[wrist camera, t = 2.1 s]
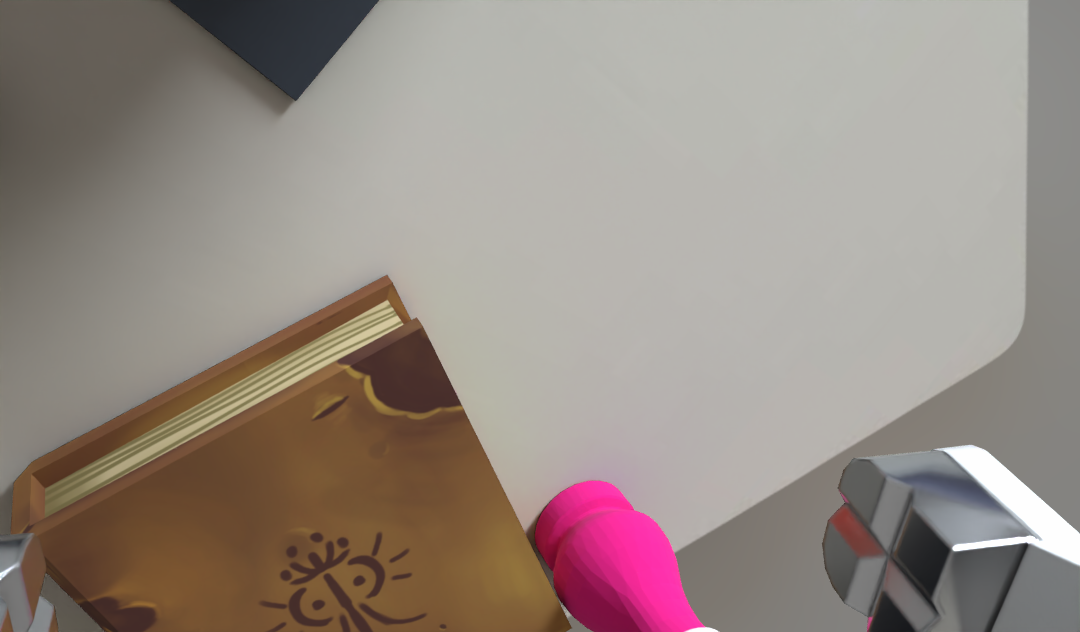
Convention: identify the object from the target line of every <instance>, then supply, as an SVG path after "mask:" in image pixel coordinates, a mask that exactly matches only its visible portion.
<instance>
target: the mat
mask: <svg viewBox="0 0 1080 632" xmlns="http://www.w3.org/2000/svg"><path fill="white" fill-rule="evenodd" d="M170 1H171V2H172V3H174V4H175V5H176V6H177V7H179V8H180V9H181V10H182V11H184V12H185V13H186V14H187V15H189V16H190V17H191V18H192V19H194V20H195V21H196V22H197V23H199V24H200V25H201V26H202V27H204V28H205V29H206V30H207V31H209V32H210V33H211V34H212V35H214V36H215V37H216V38H217V39H219V40H220V41H221V42H222V43H224V44H225V45H226V46H228V47H229V48H230V49H231V50H233V51H234V52H235V53H236V54H238V55H239V56H240V57H241V58H243V59H244V60H245V61H246V62H248V63H249V64H250V65H251V66H253V67H254V68H255V69H256V70H258V71H259V72H260V73H261V74H263V75H264V76H265V77H266V78H268V79H269V80H270V81H271V82H273V83H274V84H275V85H276V86H278V87H279V88H280V89H282V90H283V91H284V92H285V93H287V94H288V95H289V96H290V97H292V98H293V99H294V100H295V101H296V100H297V99H298V98H299V97H300V96H301V94H302V93H303V92H304V91H305V89H306V88H307V87H308V86H309V85H310V83H311V82H312V81H313V80H314V79H315V77H316V76H317V75H318V74H319V72H320V71H321V70H322V69H323V68H324V66H325V65H326V64H327V63H328V62H329V60H330V59H331V58H332V57H333V55H334V54H335V53H336V52H337V51H338V49H339V48H340V47H341V46H342V44H343V43H344V42H345V41H346V40H347V38H348V37H349V36H350V35H351V34H352V32H353V31H354V30H355V29H356V27H357V26H358V25H359V24H360V23H361V21H362V20H363V19H364V18H365V17H366V15H367V14H368V13H369V12H370V10H371V9H372V8H373V7H374V6H375V4H376V3H377V2H378V1H379V0H170Z"/></svg>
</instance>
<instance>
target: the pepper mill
mask: <svg viewBox="0 0 1080 632" xmlns="http://www.w3.org/2000/svg"><path fill="white" fill-rule="evenodd" d="M535 543H536V546H537V549H538V551H539V552H540V554H541V556H542V557H543V559H544V560H545V562H546V563H547V565H548V566H549V568H550V569H551V570H552V571H553V572H554V588H555V590H556V593H557V595H558V597H559V599H560V601H561V602H562V603H563V605H564V606H565V607H566V609H567V610H568V611H569V612H570V614H571V615H572V616H573V617H574V618H575V619H577V620H578V621H579V622H580V623H582V624H583V625H584V626H585V627H586V628H588V629H590V630H592V631H594V632H718V631H717V630H714V629H712V628H706V627H705V626H704V625H703V624H702V623H701V622H700V621H699V620H698V618H697V617H696V615H695V614H694V612H693V610H692V609H691V607H690V606H689V603H688V601H687V599H686V596H685V594H684V592H683V589H682V585H681V580H680V575H679V570H678V565H677V560H676V557H675V554H674V552H673V549H672V547H671V545H670V542H669V540H668V538H667V537H666V535H665V534H664V533H663V531H662V530H661V528H660V527H659V525H658V524H657V523H656V522H655V521H654V520H653V519H651V518H650V517H649V516H647V515H645V514H643V513H640V512H638V511H634V509H633V507H632V506H631V504H630V503H629V502H628V501H627V499H626V498H625V497H624V496H623V494H622V493H621V492H620V491H619V490H618V489H617V488H616V487H615V486H614V485H612V484H610V483H607V482H602V481H587V482H583V483H579V484H575V485H573V486H571V487H570V488H568V489H566V490H564V491H562V492H561V493H560V494H558V495H557V496H556V497H555V498H554V499H553V500H551V501H550V503H549V504H548V505H547V506H546V508H545V509H544V510H543V512H542V514H541V516H540V518H539V520H538V522H537V525H536V531H535Z"/></svg>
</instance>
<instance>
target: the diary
mask: <svg viewBox="0 0 1080 632" xmlns="http://www.w3.org/2000/svg"><path fill="white" fill-rule="evenodd" d="M24 533H34V534H35V535H36V536H37V537H38V538H40V541H41V545H42V549H43V554H44V558H45V562H46V566H47V569H46V573H47V574H48V575H49V576H50V577H51V578H52V579H53V580H54V581H55V582H56V583H57V584H58V585H59V586H60V587H61V588H62V589H63V590H64V591H65V592H66V593H67V594H68V595H69V596H70V597H71V598H72V599H73V600H74V601H75V602H76V603H77V604H78V605H79V606H80V607H81V608H82V609H83V610H84V611H85V612H86V613H87V614H88V615H89V616H90V617H91V618H92V619H93V620H94V621H95V622H96V623H97V624H98V625H99V626H100V627H101V628H102V629H103V630H104V631H105V632H566V631H568V630H569V629H571V625H570V623H569V621H568V619H567V617H566V615H565V613H564V611H563V609H562V607H561V605H560V603H559V601H558V599H557V597H556V595H555V593H554V591H553V589H552V587H551V585H550V583H549V581H548V579H547V577H546V575H545V573H544V571H543V569H542V567H541V565H540V563H539V561H538V559H537V557H536V555H535V553H534V551H533V549H532V546H531V544H530V542H529V540H528V538H527V536H526V534H525V532H524V530H523V528H522V526H521V524H520V522H519V520H518V518H517V516H516V514H515V512H514V510H513V508H512V506H511V504H510V502H509V500H508V498H507V496H506V494H505V492H504V490H503V488H502V486H501V484H500V482H499V480H498V478H497V476H496V474H495V472H494V470H493V468H492V466H491V464H490V461H489V459H488V457H487V455H486V453H485V451H484V449H483V447H482V445H481V443H480V441H479V439H478V437H477V435H476V433H475V431H474V429H473V427H472V425H471V423H470V421H469V419H468V417H467V415H466V413H465V411H464V409H463V407H462V405H461V403H460V401H459V399H458V397H457V395H456V393H455V391H454V389H453V387H452V385H451V383H450V381H449V378H448V376H447V374H446V372H445V370H444V368H443V366H442V364H441V362H440V360H439V358H438V356H437V354H436V352H435V350H434V348H433V346H432V344H431V342H430V340H429V338H428V336H427V334H426V332H425V330H424V328H423V326H422V325H421V323H420V322H419V320H418V319H417V318H415V319H413V320H411V319H410V317H409V315H408V313H407V311H406V309H405V307H404V305H403V303H402V301H401V299H400V297H399V295H398V293H397V291H396V289H395V287H394V285H393V283H392V281H391V280H390V279H389V277H388V276H387V275H386V276H384V277H382V278H380V279H378V280H377V281H375V282H373V283H371V284H369V285H367V286H365V287H363V288H361V289H359V290H358V291H356V292H354V293H352V294H350V295H348V296H346V297H344V298H342V299H340V300H339V301H337V302H335V303H333V304H331V305H329V306H327V307H325V308H323V309H321V310H320V311H318V312H316V313H314V314H312V315H310V316H308V317H306V318H304V319H302V320H301V321H299V322H297V323H295V324H293V325H291V326H289V327H287V328H285V329H283V330H282V331H280V332H278V333H276V334H274V335H272V336H270V337H268V338H266V339H265V340H263V341H261V342H259V343H257V344H255V345H253V346H251V347H249V348H247V349H246V350H244V351H242V352H240V353H238V354H236V355H234V356H232V357H230V358H228V359H227V360H225V361H223V362H221V363H219V364H217V365H215V366H213V367H211V368H209V369H208V370H206V371H204V372H202V373H200V374H198V375H196V376H194V377H192V378H190V379H189V380H187V381H185V382H183V383H181V384H179V385H177V386H175V387H173V388H171V389H170V390H168V391H166V392H164V393H162V394H160V395H158V396H156V397H154V398H152V399H151V400H149V401H147V402H145V403H143V404H141V405H139V406H137V407H135V408H133V409H132V410H130V411H128V412H126V413H124V414H122V415H120V416H118V417H116V418H115V419H113V420H111V421H109V422H107V423H105V424H103V425H101V426H99V427H97V428H96V429H94V430H92V431H90V432H88V433H86V434H84V435H82V436H80V437H78V438H77V439H75V440H73V441H71V442H69V443H67V444H65V445H63V446H61V447H59V448H58V449H56V450H54V451H52V452H50V453H48V454H46V455H44V456H42V457H40V458H39V459H37V460H35V461H33V462H31V464H30V465H29V466H28V467H27V468H26V469H25V471H24V472H23V473H22V474H21V475H20V476H19V477H18V479H17V480H16V481H15V482H14V487H13V504H12V520H11V534H24Z"/></svg>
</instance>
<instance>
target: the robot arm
mask: <svg viewBox="0 0 1080 632" xmlns="http://www.w3.org/2000/svg"><path fill="white" fill-rule="evenodd" d="M838 489H839V491H840V494H841V496H842V497H843V500H844V502H845V503H844V504H843V505H842V506H841V507H840V508H839V509H838V510H837V511H836V512H835V513H834V515H832V516H831V518H830V519H829V520H828V523H827V527H826V531H825V534H824V539H823V543H822V547H823V555H824V564H825V569H826V572H827V574H828V577H829V579H830V582H831V584H832V586H833V588H834V589H835V591H836V592H837V594H838V595H839V596H840V598H841V599H842V601H843V602H844V604H846V605H848V606H850V607H851V608H853V609H855V610H857V611H858V612H860V613H862V614H864V615H865V616H867V617H868V626H867V632H1080V534H1079V533H1078V532H1077V531H1076V530H1075V529H1074V528H1073V527H1072V526H1070V525H1069V524H1068V523H1067V522H1066V521H1065V520H1064V519H1063V518H1061V517H1060V516H1059V515H1058V514H1057V513H1056V512H1055V511H1054V510H1052V509H1051V508H1050V507H1049V506H1048V505H1047V504H1046V503H1045V502H1043V501H1042V500H1041V499H1040V498H1039V497H1037V495H1035V494H1034V493H1033V492H1032V491H1031V490H1030V489H1029V488H1028V487H1026V486H1025V485H1024V484H1023V483H1022V482H1021V481H1020V480H1019V479H1018V478H1016V477H1015V476H1014V475H1013V474H1012V473H1011V472H1009V471H1008V470H1007V469H1006V468H1005V467H1004V466H1003V465H1002V464H1001V463H999V462H998V461H997V460H996V459H995V458H994V457H993V456H992V455H990V454H989V453H988V452H987V451H986V450H983V449H981V448H978V447H975V446H973V445H966V446H957V447H949V448H941V449H933V450H931V451H923V452H912V453H902V454H892V455H882V456H872V457H862V458H854V459H852V460H851V462H850V463H849V464H848V465H847V466H846V467H845V469H844V470H843V473H842V476H841V479H840V483H839V486H838ZM46 569H47V566H46V562H45V558H44V554H43V549H42V545H41V541H40V538H38V537H37V536H36V535H35V534H34V533H24V534H9V535H0V632H58V624H57V619H56V613H55V607H54V605H53V604H51V603H50V602H49V601H47V600H46V599H44V598H43V597H42V596H40V593H41V589H42V585H43V581H44V577H45V573H46Z"/></svg>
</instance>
